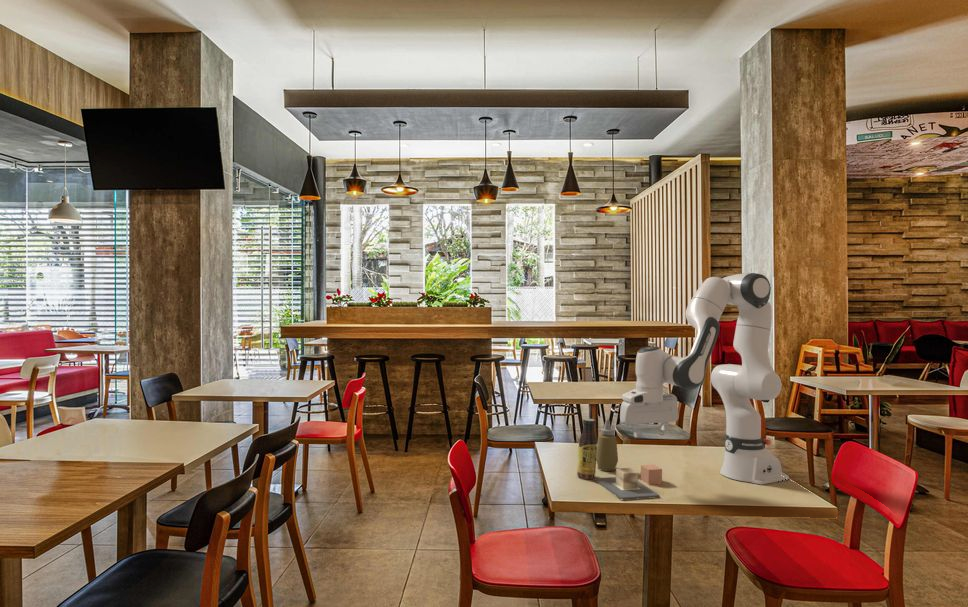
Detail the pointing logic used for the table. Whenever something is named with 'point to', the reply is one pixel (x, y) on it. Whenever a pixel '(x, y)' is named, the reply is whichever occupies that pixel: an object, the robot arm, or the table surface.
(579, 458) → the sauce bottle
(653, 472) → the terracotta block
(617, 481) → the birch block
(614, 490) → the board
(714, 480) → the table surface
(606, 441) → the squeeze bottle
